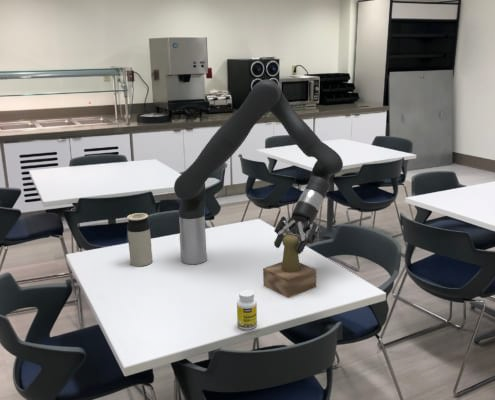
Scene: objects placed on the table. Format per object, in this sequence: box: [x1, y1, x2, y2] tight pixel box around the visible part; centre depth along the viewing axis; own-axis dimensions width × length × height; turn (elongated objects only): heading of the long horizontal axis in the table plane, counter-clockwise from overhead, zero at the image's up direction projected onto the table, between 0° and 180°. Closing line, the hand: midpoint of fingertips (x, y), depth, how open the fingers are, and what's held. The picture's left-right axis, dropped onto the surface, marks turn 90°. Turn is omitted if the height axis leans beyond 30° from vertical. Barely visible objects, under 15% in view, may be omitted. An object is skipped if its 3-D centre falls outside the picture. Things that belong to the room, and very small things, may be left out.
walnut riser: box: [262, 261, 317, 299], centre depth 165 cm, size 12×12×6 cm
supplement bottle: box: [236, 289, 258, 331], centre depth 140 cm, size 5×5×10 cm
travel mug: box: [126, 212, 153, 267], centre depth 186 cm, size 8×8×18 cm
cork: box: [281, 234, 301, 273], centre depth 162 cm, size 6×6×11 cm
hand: (286, 249), depth 161 cm, fingers open, 8 cm apart
